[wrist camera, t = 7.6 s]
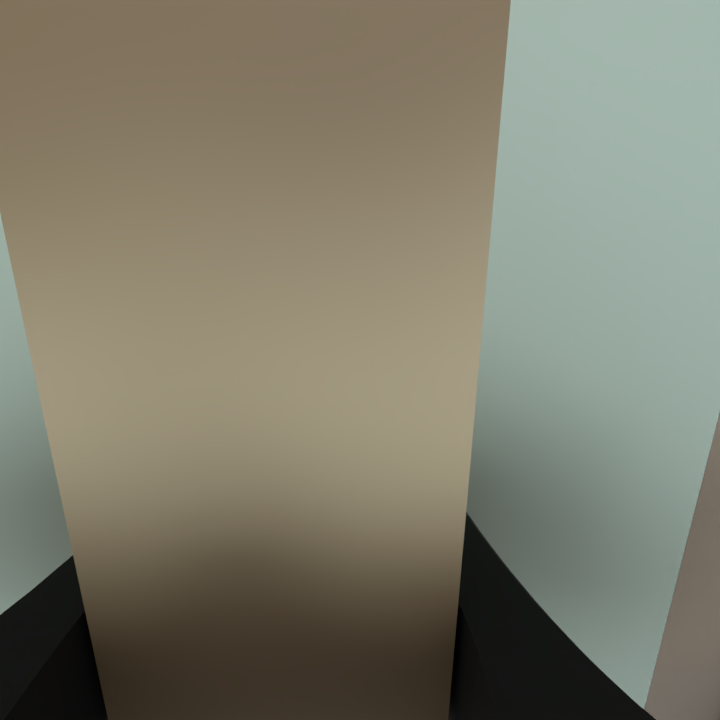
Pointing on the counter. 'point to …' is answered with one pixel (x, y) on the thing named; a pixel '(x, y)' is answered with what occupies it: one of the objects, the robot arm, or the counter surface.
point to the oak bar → (257, 334)
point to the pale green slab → (547, 329)
